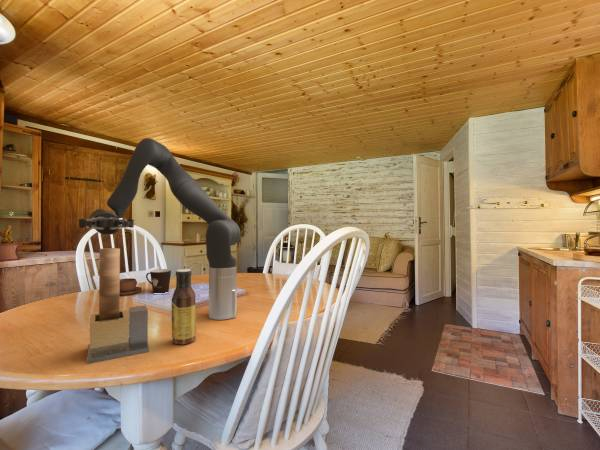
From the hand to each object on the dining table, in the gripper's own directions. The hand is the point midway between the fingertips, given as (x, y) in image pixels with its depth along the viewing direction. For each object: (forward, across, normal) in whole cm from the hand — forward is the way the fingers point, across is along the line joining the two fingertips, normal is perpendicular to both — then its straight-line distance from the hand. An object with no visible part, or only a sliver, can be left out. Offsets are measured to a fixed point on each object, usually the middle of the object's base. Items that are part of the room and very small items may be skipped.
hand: (107, 223), depth 92 cm
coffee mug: (-47, +21, +32) cm, 61 cm away
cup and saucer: (-52, +8, +32) cm, 61 cm away
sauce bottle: (+17, +18, +32) cm, 41 cm away
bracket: (+15, +2, +32) cm, 35 cm away
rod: (+15, 0, +28) cm, 32 cm away
